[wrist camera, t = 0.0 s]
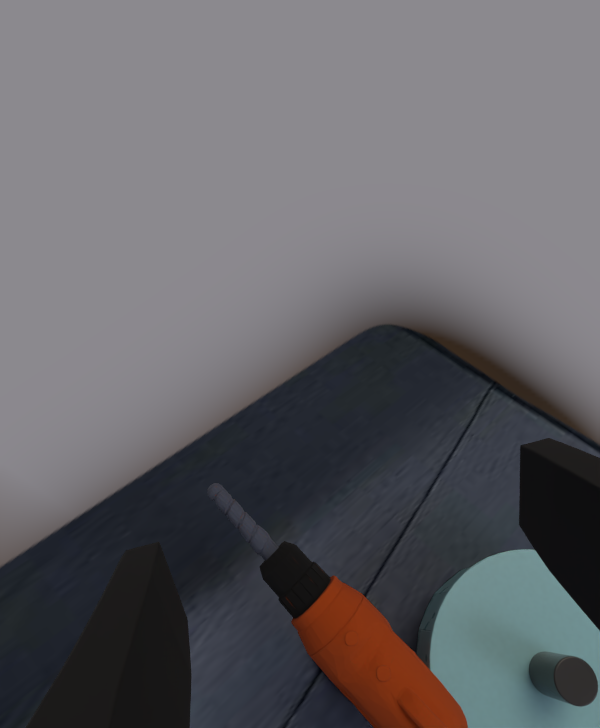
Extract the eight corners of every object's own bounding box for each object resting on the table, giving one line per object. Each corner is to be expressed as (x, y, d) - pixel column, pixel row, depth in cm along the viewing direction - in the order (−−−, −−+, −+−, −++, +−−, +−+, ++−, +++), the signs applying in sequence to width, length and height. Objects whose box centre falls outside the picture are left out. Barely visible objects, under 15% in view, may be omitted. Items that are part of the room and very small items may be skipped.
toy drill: (243, 482, 41) (242, 445, 27) (421, 673, 38) (524, 743, 24) (196, 528, 40) (168, 513, 26) (376, 731, 36) (457, 842, 22)
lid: (706, 772, 31) (771, 798, 27) (479, 853, 29) (509, 895, 25) (589, 526, 37) (627, 515, 33) (394, 583, 35) (407, 579, 31)
